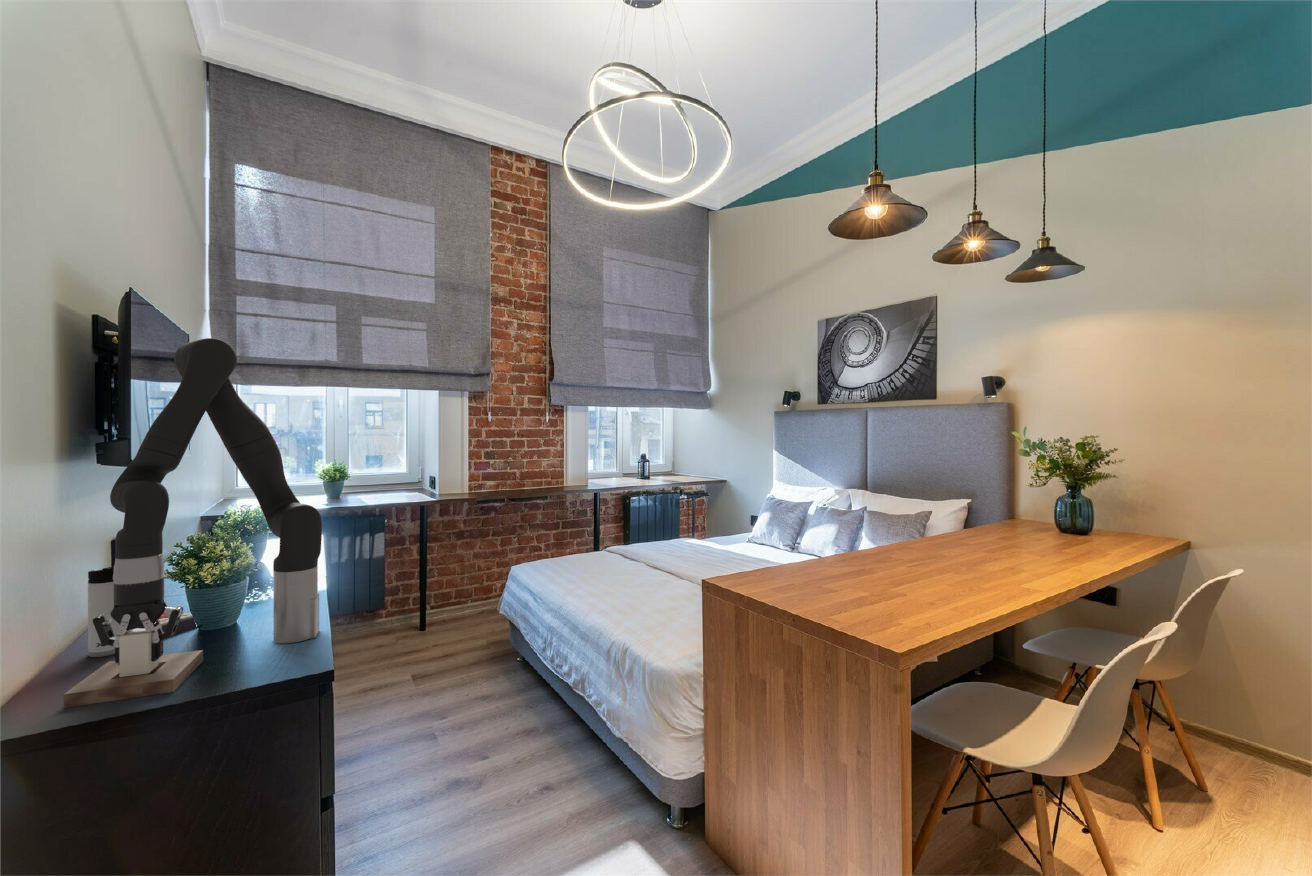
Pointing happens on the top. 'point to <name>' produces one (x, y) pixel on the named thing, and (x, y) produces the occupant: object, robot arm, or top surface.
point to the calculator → (184, 622)
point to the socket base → (134, 680)
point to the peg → (135, 653)
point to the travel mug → (100, 608)
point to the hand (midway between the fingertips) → (139, 661)
